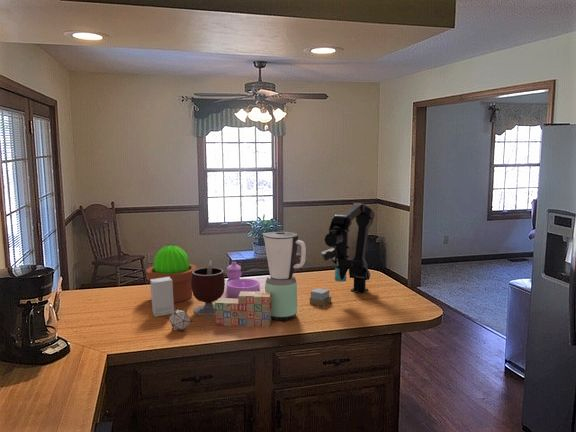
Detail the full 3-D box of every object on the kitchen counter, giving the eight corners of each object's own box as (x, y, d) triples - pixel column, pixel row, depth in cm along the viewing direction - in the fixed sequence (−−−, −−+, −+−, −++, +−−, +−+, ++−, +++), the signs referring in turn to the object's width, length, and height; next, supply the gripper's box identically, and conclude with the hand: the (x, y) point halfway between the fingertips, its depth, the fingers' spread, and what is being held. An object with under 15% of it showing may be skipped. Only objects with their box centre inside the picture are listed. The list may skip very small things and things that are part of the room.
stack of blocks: (215, 325, 191) (214, 295, 190) (218, 320, 198) (218, 290, 196) (269, 327, 190) (269, 296, 188) (271, 321, 196) (271, 291, 194)
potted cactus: (181, 307, 213) (179, 250, 209) (138, 301, 220) (135, 247, 216) (205, 292, 233) (204, 240, 230) (165, 288, 240) (163, 238, 237)
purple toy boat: (264, 299, 224) (264, 271, 222) (232, 303, 218) (231, 274, 216) (246, 284, 247) (246, 259, 245) (217, 288, 241) (216, 262, 239)
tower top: (317, 294, 222) (317, 287, 222) (329, 296, 219) (329, 290, 218) (310, 297, 217) (310, 291, 217) (322, 300, 214) (322, 293, 213)
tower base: (317, 300, 223) (317, 293, 223) (331, 302, 220) (331, 296, 219) (309, 304, 218) (309, 297, 217) (323, 307, 214) (323, 300, 213)
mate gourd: (222, 316, 202) (221, 268, 199) (189, 316, 202) (187, 268, 199) (227, 304, 217) (227, 259, 214) (196, 303, 217) (195, 259, 214)
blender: (255, 318, 198) (254, 233, 193) (269, 308, 211) (269, 228, 205) (299, 325, 191) (299, 237, 186) (311, 314, 203) (311, 231, 198)
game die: (176, 337, 189) (169, 313, 192) (197, 329, 189) (190, 305, 193) (168, 334, 180) (161, 309, 184) (190, 326, 181) (183, 301, 184)
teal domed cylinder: (337, 278, 221) (338, 267, 220) (348, 279, 218) (348, 268, 218) (332, 280, 217) (333, 269, 216) (343, 282, 214) (343, 271, 213)
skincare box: (171, 310, 209) (170, 276, 207) (174, 314, 204) (173, 279, 202) (151, 312, 206) (149, 278, 203) (154, 317, 200) (152, 282, 198)
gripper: (319, 239, 223) (318, 272, 226) (327, 247, 205) (326, 284, 207) (343, 239, 225) (342, 272, 227) (353, 247, 206) (352, 283, 208)
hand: (340, 277), depth 217 cm, fingers closed on teal domed cylinder, 5 cm apart
